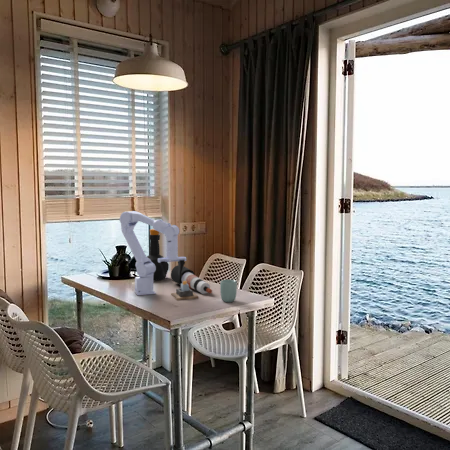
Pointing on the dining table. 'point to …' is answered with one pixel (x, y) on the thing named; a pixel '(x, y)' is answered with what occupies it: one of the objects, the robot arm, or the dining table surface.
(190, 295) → the holder
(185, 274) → the cable
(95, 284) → the dining table surface
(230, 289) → the cup
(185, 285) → the connector
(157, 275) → the bottle
